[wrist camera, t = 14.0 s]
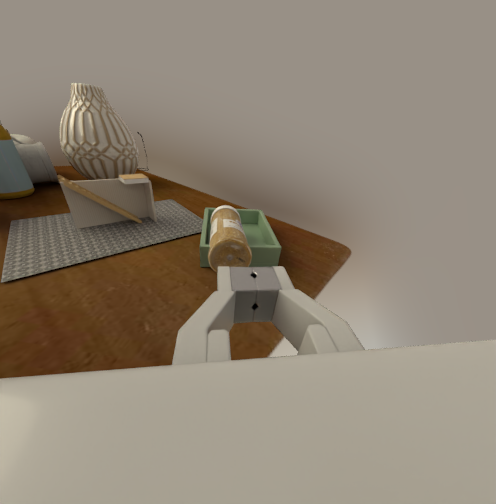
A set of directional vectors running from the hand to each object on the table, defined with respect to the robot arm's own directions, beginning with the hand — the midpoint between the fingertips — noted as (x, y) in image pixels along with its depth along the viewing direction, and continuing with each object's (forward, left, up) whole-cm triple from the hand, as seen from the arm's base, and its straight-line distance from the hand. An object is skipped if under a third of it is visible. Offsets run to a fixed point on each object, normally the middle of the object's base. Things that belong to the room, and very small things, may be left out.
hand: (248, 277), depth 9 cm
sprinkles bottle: (+9, 0, -5) cm, 11 cm away
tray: (+21, -2, -9) cm, 23 cm away
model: (+25, +17, -9) cm, 32 cm away
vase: (+54, +30, -9) cm, 62 cm away
